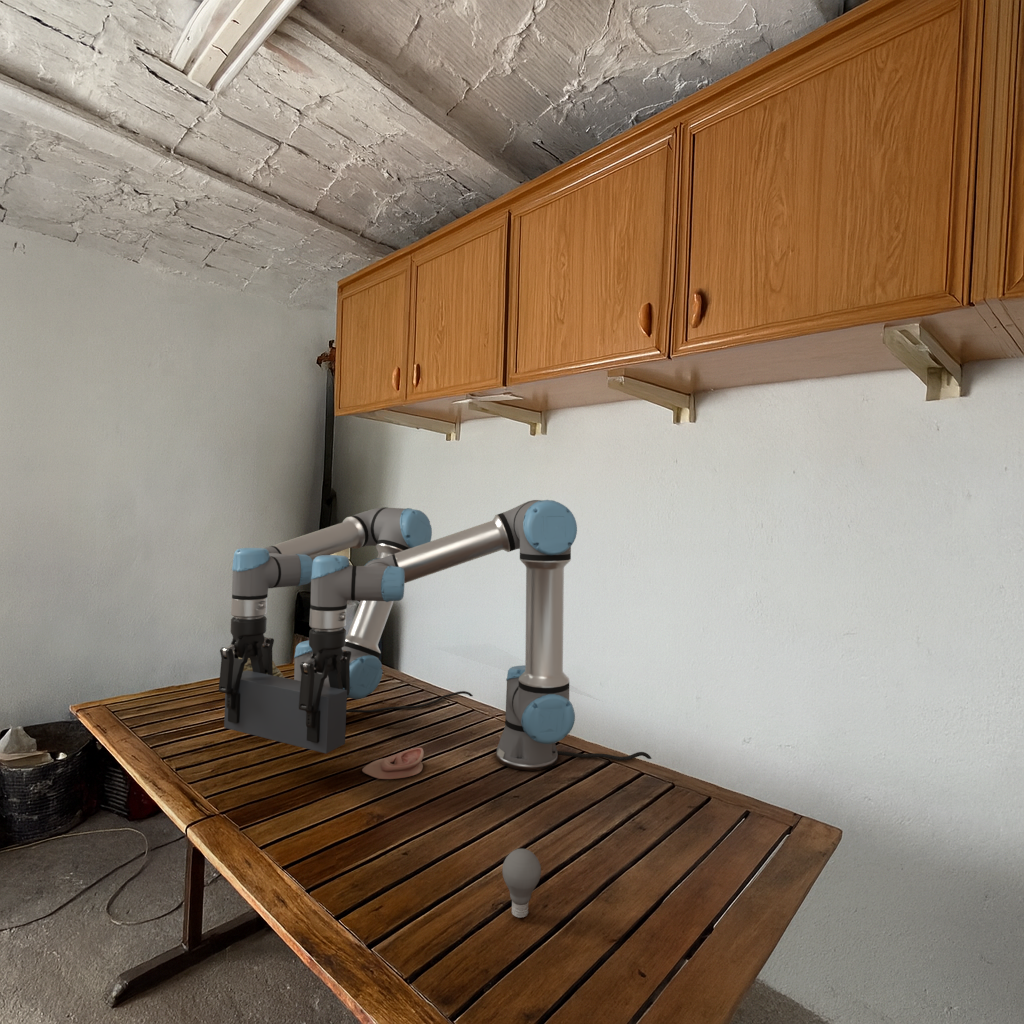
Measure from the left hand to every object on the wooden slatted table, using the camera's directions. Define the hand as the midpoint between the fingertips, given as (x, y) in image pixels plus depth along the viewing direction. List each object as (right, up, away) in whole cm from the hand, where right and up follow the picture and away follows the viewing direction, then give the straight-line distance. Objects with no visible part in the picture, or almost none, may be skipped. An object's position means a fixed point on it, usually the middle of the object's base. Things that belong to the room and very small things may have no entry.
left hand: (245, 717), depth 144 cm
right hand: (+21, -1, -9) cm, 23 cm away
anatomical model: (+33, -14, +4) cm, 36 cm away
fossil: (-20, -11, +54) cm, 58 cm away
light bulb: (+62, -16, -46) cm, 79 cm away
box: (+10, -3, -5) cm, 11 cm away
